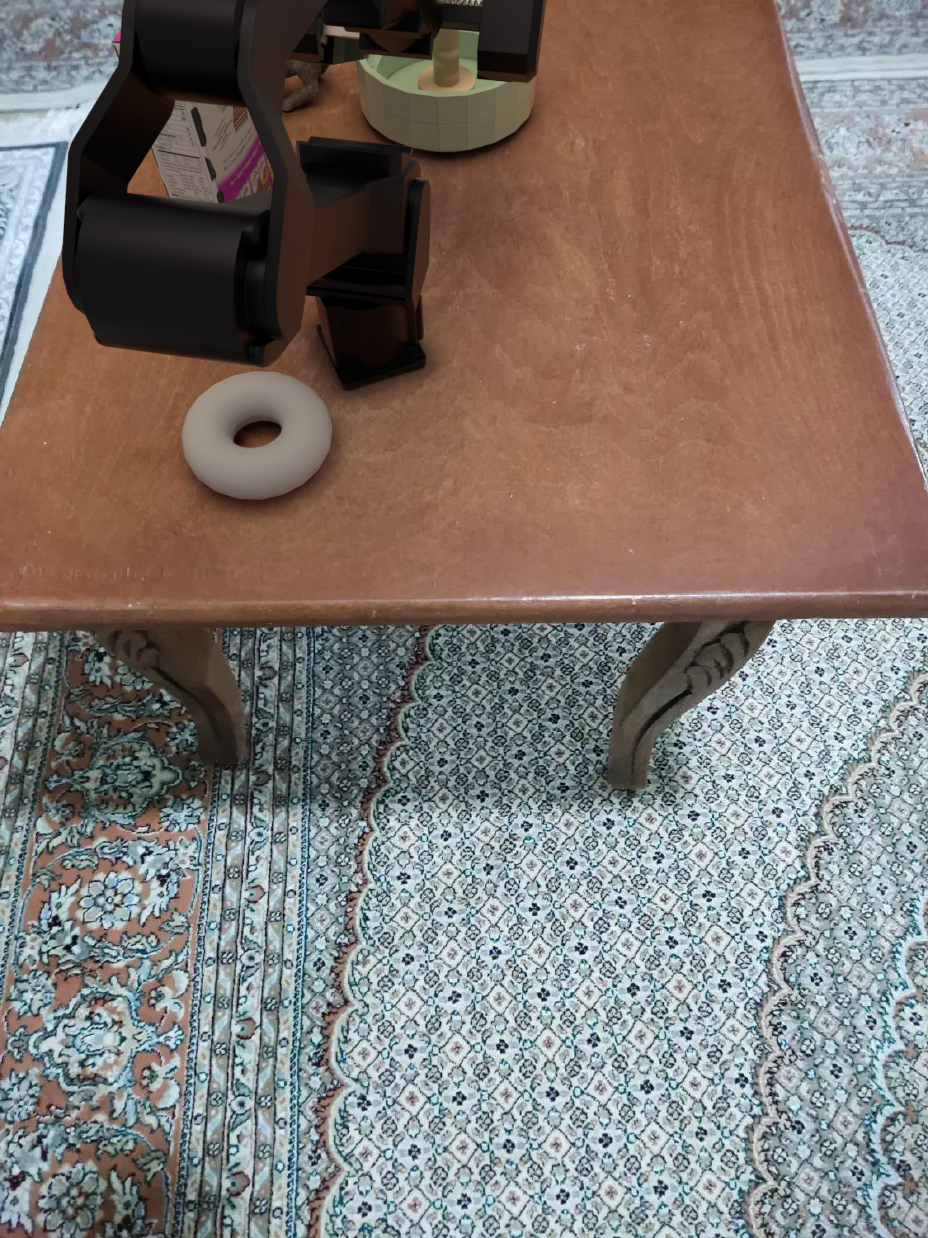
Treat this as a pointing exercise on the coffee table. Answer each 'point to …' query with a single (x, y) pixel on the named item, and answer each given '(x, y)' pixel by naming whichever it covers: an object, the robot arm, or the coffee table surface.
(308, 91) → the dog figurine
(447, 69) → the post
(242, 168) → the candy bar box
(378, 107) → the bowl
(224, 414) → the donut
